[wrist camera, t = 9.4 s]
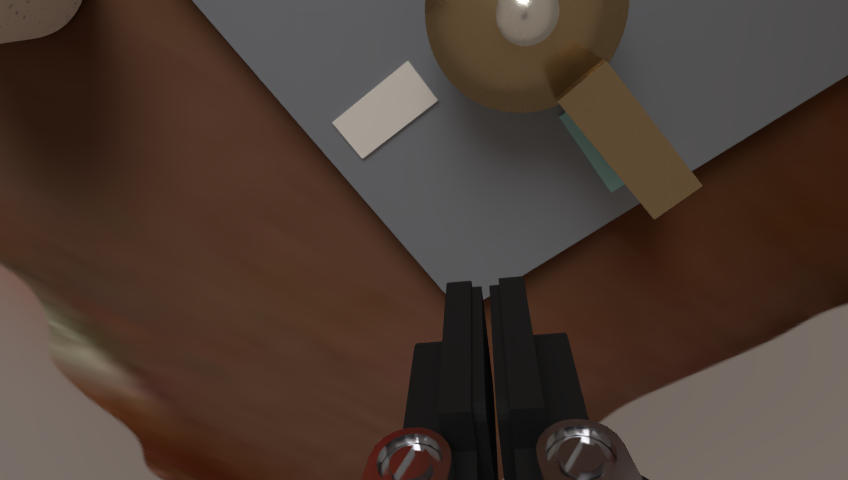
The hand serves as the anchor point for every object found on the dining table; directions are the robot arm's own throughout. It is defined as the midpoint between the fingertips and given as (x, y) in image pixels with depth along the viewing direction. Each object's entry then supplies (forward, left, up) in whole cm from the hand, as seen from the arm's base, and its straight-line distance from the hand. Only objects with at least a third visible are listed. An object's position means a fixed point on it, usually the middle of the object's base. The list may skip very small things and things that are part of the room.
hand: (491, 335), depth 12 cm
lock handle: (-5, 0, -17) cm, 18 cm away
